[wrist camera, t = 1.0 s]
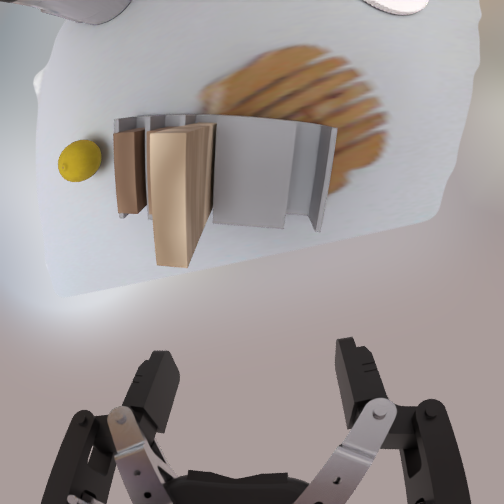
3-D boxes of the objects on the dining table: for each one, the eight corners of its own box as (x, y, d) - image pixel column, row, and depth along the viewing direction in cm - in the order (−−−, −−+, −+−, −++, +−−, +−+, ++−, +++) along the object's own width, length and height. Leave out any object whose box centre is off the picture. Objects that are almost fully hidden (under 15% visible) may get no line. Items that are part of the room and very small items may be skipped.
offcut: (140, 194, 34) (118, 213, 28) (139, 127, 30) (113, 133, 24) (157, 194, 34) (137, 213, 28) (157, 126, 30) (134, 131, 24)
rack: (139, 200, 36) (119, 218, 31) (137, 116, 30) (114, 119, 25) (310, 212, 37) (320, 232, 31) (323, 125, 31) (337, 128, 25)
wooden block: (196, 199, 35) (156, 265, 21) (198, 122, 30) (150, 133, 16) (215, 200, 35) (187, 268, 21) (219, 122, 30) (186, 132, 16)
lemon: (107, 131, 31) (74, 140, 24) (114, 168, 34) (84, 184, 27) (77, 141, 32) (44, 152, 24) (85, 176, 34) (53, 193, 27)
